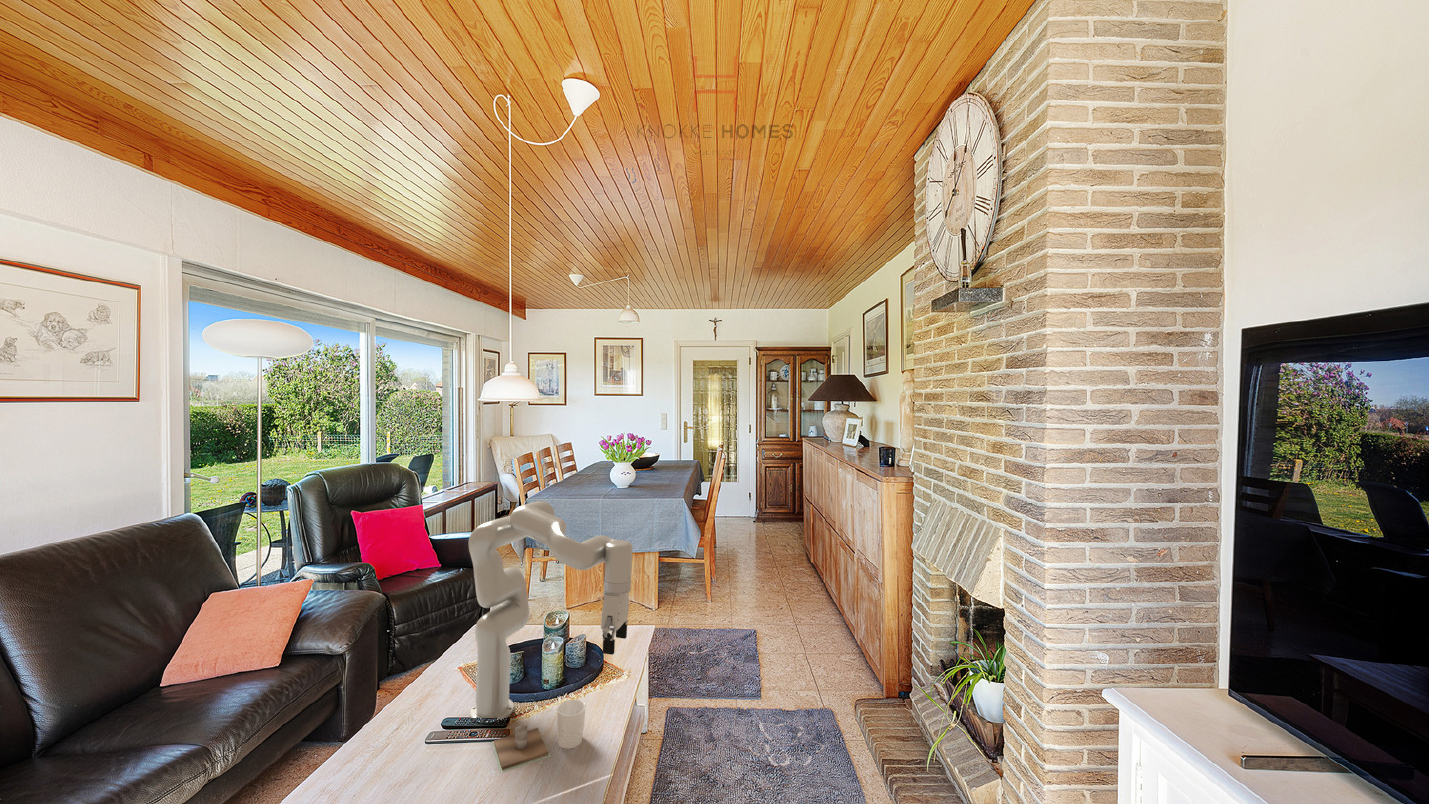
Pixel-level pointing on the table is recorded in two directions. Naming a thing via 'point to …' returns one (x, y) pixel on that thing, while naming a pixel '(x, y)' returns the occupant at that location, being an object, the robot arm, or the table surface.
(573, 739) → the white cup
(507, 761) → the walnut lid
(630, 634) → the table surface
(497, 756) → the sage mat
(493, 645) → the robot arm
